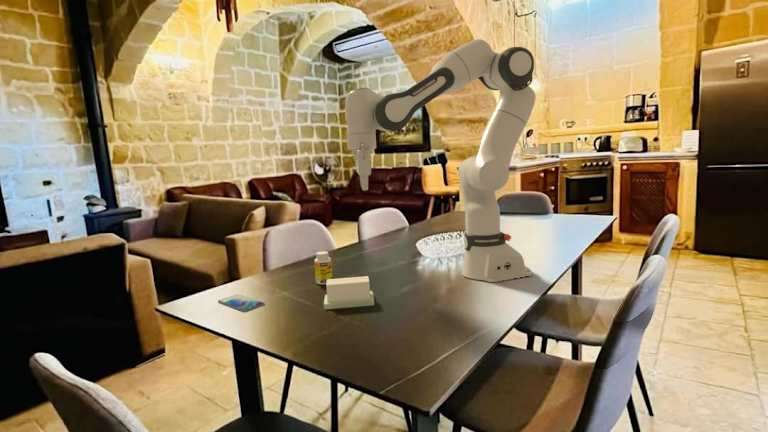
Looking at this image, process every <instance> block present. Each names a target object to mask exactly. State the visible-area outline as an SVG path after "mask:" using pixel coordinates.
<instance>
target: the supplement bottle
mask: <svg viewBox="0 0 768 432" xmlns="http://www.w3.org/2000/svg"><path fill="white" fill-rule="evenodd" d="M315 254H316V257H315V259H314V261H313V262H314V271H315V273H314V274H315V283H316V284H318V285H322V286H323V285H326V283H327V279H333V266H332V265H333V264H332V258H331V257H330V255H329V252H328V251H323V250H322V251H318V252H316V253H315Z"/></svg>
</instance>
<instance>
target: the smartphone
mask: <svg viewBox="0 0 768 432" xmlns="http://www.w3.org/2000/svg"><path fill="white" fill-rule="evenodd" d="M217 302H218V304H220V305H224V306H226V307H228V308H231V309H234V310H237V311H240V312H243V313H247V312H250V311H253V310H255V309H258V308H261V307H263V306H265V305H266V303H265V302H262V301H259V300H256V299H253V298H249V297H247V296H245V295H241V294H234V295H232V296H229V297H225V298H222V299H219V300H217Z"/></svg>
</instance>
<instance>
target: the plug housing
mask: <svg viewBox="0 0 768 432" xmlns="http://www.w3.org/2000/svg"><path fill="white" fill-rule="evenodd" d="M325 285H326V295H327V301H328V302H336V301H347V300H359V299H370V291H371V288H370V278H369V276H368V275H365V276H351V277H341V278H332V279H327V283H326V284H325Z"/></svg>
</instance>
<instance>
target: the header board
mask: <svg viewBox="0 0 768 432" xmlns="http://www.w3.org/2000/svg"><path fill="white" fill-rule="evenodd" d="M370 306H371V307H372V306H375V297H374V292H373V290H370V299H359V300H347V301H336V302H328V301H327V294H324V300H323V310H324V311H325V310H335V309H346V308H358V307H370Z"/></svg>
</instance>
